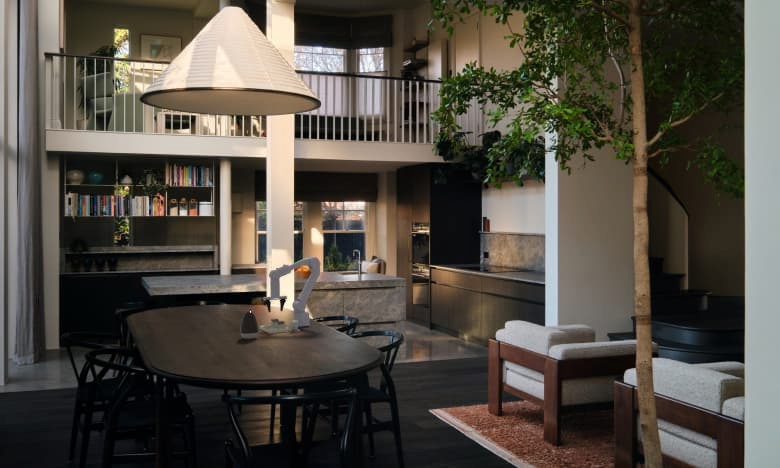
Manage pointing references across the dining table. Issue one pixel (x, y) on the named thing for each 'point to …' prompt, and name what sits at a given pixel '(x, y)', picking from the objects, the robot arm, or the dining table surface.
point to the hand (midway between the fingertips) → (275, 311)
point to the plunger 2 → (280, 322)
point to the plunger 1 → (274, 320)
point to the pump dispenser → (249, 326)
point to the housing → (274, 328)
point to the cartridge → (294, 325)
